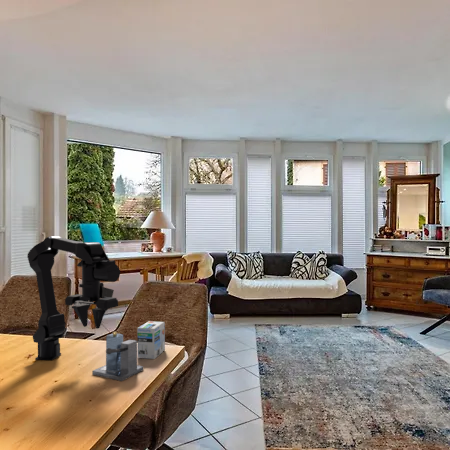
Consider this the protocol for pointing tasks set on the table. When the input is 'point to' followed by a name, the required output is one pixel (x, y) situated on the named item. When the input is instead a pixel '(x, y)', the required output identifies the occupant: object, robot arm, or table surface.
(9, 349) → the table surface
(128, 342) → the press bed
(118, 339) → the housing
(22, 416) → the table surface
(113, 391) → the table surface
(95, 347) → the table surface
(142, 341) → the light bulb box
